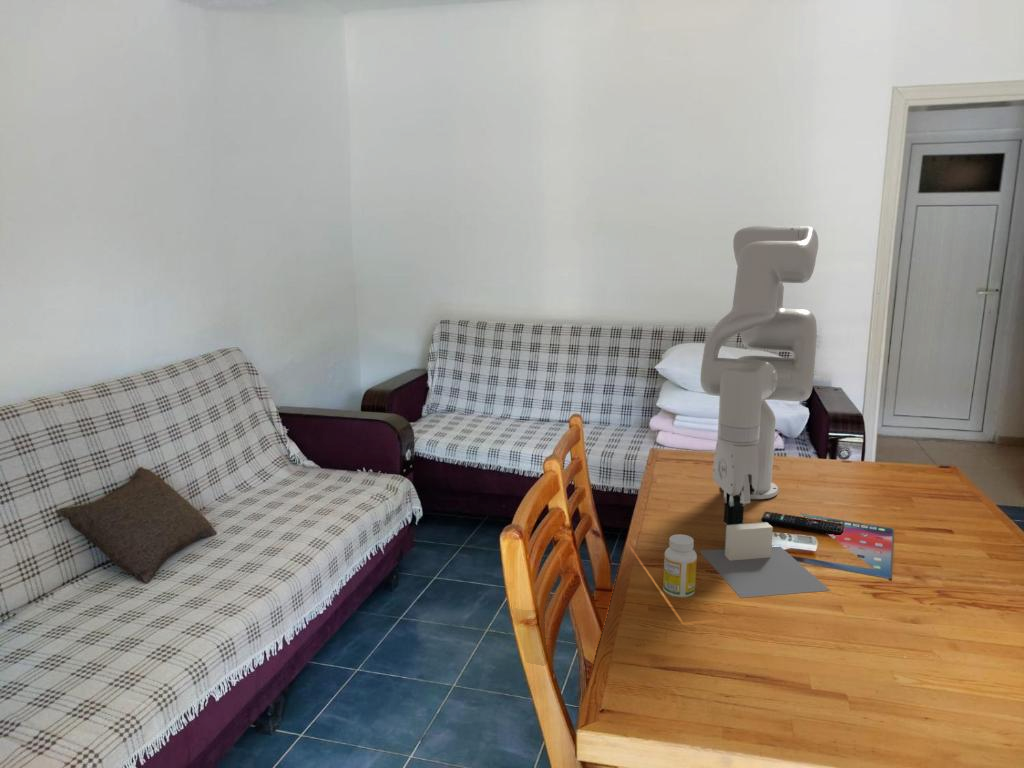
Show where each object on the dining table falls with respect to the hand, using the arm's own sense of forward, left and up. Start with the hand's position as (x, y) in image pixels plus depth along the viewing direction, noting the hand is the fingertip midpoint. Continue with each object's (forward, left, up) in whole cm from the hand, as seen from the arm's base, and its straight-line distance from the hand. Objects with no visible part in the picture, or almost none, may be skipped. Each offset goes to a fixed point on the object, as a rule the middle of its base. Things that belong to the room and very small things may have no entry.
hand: (733, 523), depth 145 cm
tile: (+7, 0, -4) cm, 8 cm away
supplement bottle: (+17, -17, -4) cm, 24 cm away
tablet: (+4, +20, -5) cm, 21 cm away
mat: (+12, 0, -4) cm, 13 cm away
